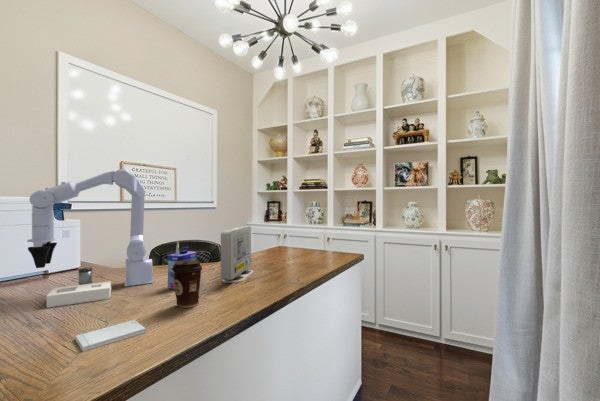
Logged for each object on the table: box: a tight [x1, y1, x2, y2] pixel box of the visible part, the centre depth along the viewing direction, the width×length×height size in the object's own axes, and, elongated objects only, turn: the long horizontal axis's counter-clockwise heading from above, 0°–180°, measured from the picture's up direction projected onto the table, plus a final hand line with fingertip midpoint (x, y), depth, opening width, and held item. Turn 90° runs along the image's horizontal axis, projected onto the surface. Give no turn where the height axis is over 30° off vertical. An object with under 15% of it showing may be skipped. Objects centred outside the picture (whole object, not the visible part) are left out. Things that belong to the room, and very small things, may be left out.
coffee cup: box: [171, 260, 203, 309], centre depth 91 cm, size 9×8×13 cm
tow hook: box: [175, 240, 180, 253], centre depth 148 cm, size 8×13×9 cm
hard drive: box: [74, 319, 146, 352], centre depth 70 cm, size 2×8×12 cm
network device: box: [220, 225, 254, 284], centre depth 124 cm, size 26×9×20 cm, turn 172°
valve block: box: [46, 280, 112, 309], centre depth 98 cm, size 16×10×4 cm, turn 120°
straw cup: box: [167, 246, 198, 290], centre depth 112 cm, size 10×6×14 cm, turn 158°
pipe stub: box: [77, 266, 93, 285], centre depth 107 cm, size 4×4×8 cm
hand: (43, 265), depth 103 cm, fingers open, 7 cm apart
